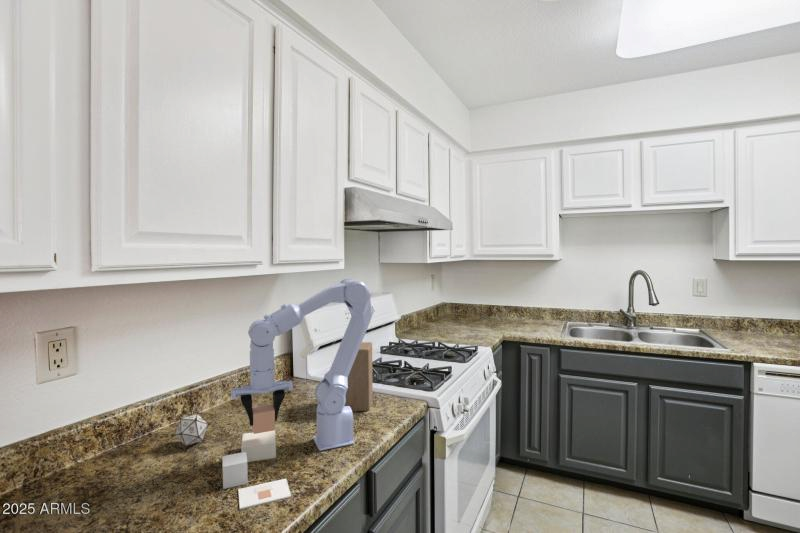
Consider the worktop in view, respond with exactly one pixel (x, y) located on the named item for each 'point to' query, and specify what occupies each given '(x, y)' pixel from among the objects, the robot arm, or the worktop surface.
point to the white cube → (235, 470)
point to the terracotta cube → (263, 418)
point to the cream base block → (259, 445)
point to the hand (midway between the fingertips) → (263, 422)
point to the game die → (191, 429)
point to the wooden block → (360, 380)
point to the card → (263, 493)
